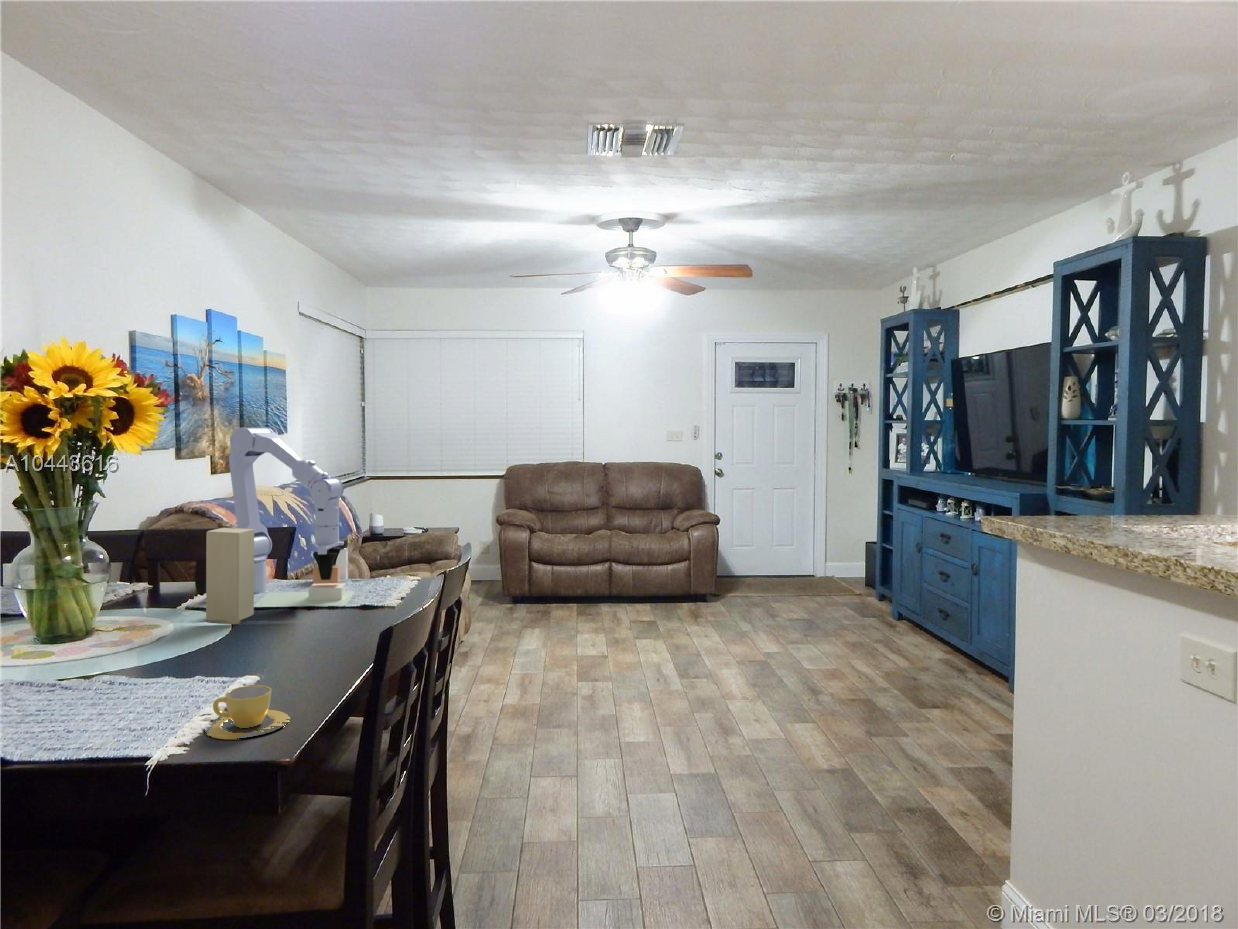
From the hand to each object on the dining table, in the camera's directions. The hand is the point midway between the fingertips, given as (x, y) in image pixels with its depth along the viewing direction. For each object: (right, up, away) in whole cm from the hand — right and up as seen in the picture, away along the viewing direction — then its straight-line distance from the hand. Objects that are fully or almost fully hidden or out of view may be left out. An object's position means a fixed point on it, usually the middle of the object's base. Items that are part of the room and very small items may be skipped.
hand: (327, 577), depth 206 cm
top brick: (0, -1, 0) cm, 1 cm away
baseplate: (-5, -6, -1) cm, 8 cm away
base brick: (0, -5, 0) cm, 5 cm away
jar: (-8, -5, +25) cm, 27 cm away
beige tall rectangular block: (-15, -7, -20) cm, 26 cm away
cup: (+18, -12, -82) cm, 85 cm away
